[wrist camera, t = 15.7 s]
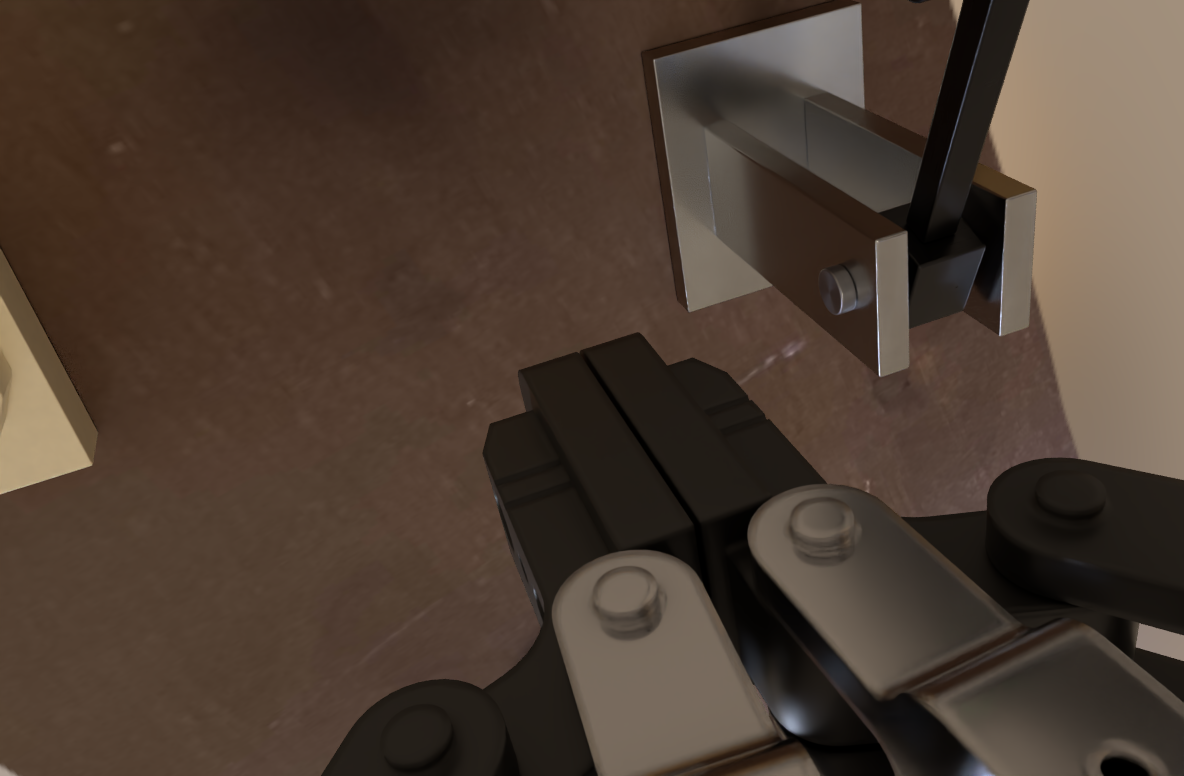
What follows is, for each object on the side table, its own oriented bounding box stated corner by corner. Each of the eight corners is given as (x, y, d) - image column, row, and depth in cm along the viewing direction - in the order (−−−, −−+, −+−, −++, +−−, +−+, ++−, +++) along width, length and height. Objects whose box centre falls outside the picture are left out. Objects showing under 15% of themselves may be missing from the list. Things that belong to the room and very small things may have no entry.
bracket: (641, 52, 36) (819, 155, 26) (844, -3, 38) (1093, 73, 27) (677, 301, 42) (837, 472, 31) (854, 245, 43) (1066, 389, 32)
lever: (889, -90, 22) (950, -35, 21) (1086, -141, 23) (1157, -91, 22) (819, 292, 32) (857, 347, 31) (960, 246, 33) (1005, 297, 31)
